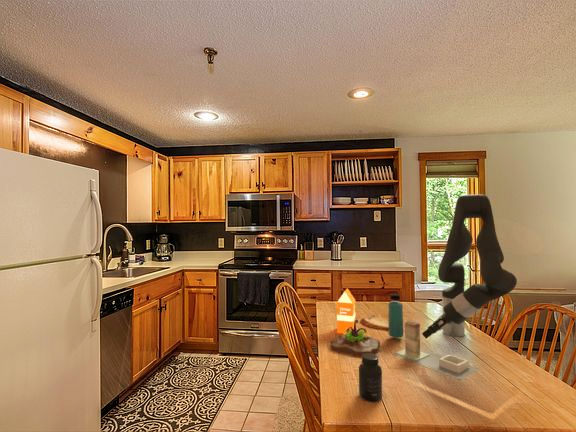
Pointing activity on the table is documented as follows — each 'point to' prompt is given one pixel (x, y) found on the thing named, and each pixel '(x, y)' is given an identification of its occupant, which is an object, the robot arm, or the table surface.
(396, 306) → the beverage bottle
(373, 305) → the table surface
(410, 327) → the wooden block tower
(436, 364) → the board
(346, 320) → the orange juice
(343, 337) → the plant
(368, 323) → the slice of bread
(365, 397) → the supplement bottle
